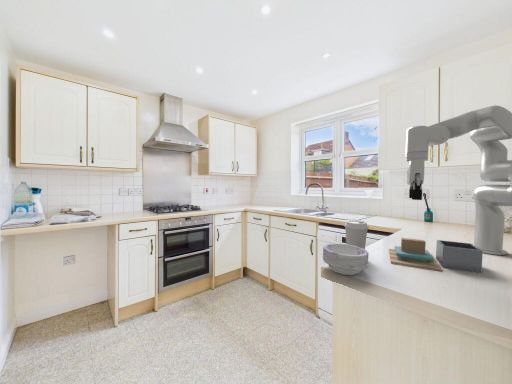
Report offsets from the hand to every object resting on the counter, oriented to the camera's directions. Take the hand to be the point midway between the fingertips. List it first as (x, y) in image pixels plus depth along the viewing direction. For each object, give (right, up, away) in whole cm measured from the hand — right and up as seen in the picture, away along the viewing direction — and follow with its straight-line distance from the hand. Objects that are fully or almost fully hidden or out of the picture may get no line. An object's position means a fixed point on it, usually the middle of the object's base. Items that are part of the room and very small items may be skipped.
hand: (415, 198), depth 93 cm
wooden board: (-1, -25, +1) cm, 25 cm away
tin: (+13, -26, -5) cm, 29 cm away
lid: (0, -25, +1) cm, 25 cm away
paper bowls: (-34, -26, -11) cm, 44 cm away
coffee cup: (-23, -25, +3) cm, 34 cm away
